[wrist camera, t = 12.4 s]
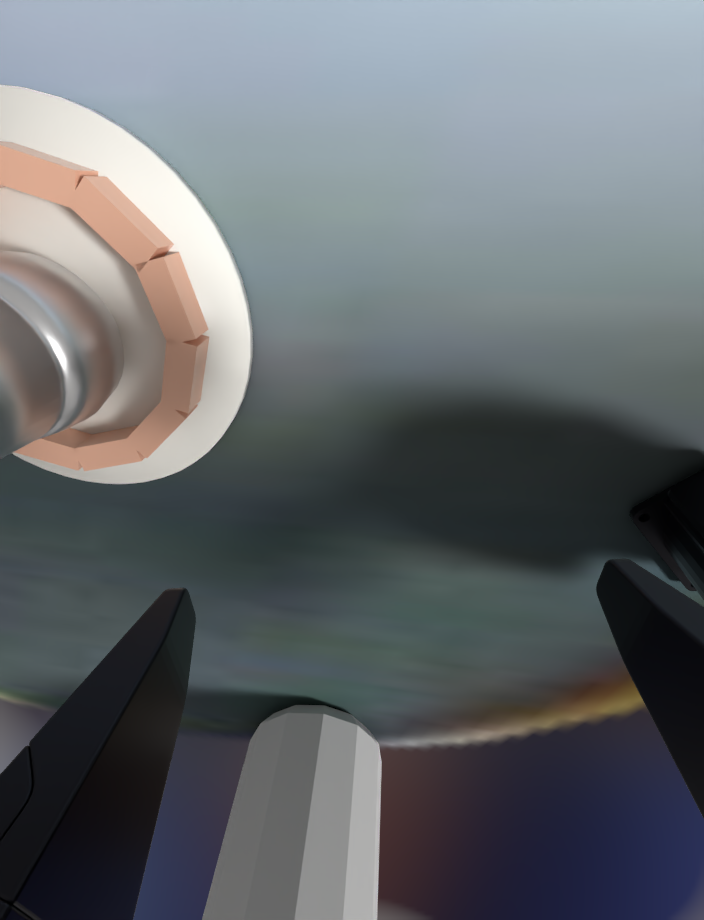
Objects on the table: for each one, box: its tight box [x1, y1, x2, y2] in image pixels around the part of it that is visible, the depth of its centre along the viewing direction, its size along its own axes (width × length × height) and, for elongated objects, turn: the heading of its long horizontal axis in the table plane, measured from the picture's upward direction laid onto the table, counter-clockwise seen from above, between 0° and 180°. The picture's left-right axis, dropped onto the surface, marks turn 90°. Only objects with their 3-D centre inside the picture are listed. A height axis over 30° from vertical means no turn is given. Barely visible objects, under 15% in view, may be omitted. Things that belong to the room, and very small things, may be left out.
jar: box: [202, 705, 382, 920], centre depth 28 cm, size 10×10×18 cm
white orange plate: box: [0, 85, 253, 484], centre depth 19 cm, size 16×16×2 cm
